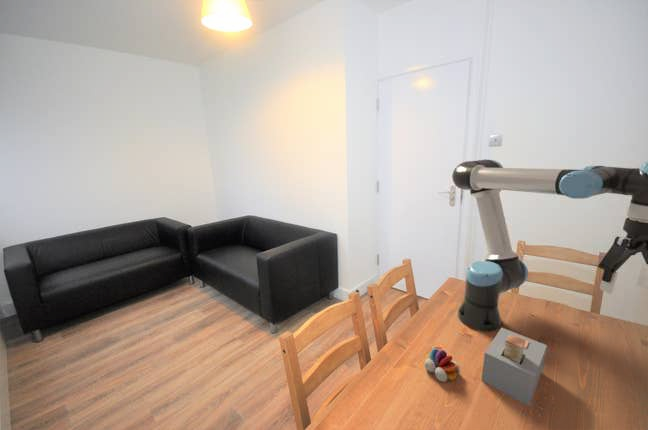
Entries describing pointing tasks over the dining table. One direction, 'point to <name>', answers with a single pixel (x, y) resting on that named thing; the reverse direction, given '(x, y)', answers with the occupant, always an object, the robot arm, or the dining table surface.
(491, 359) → the socket block
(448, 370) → the rainbow disc toy
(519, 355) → the peg
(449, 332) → the dining table surface
